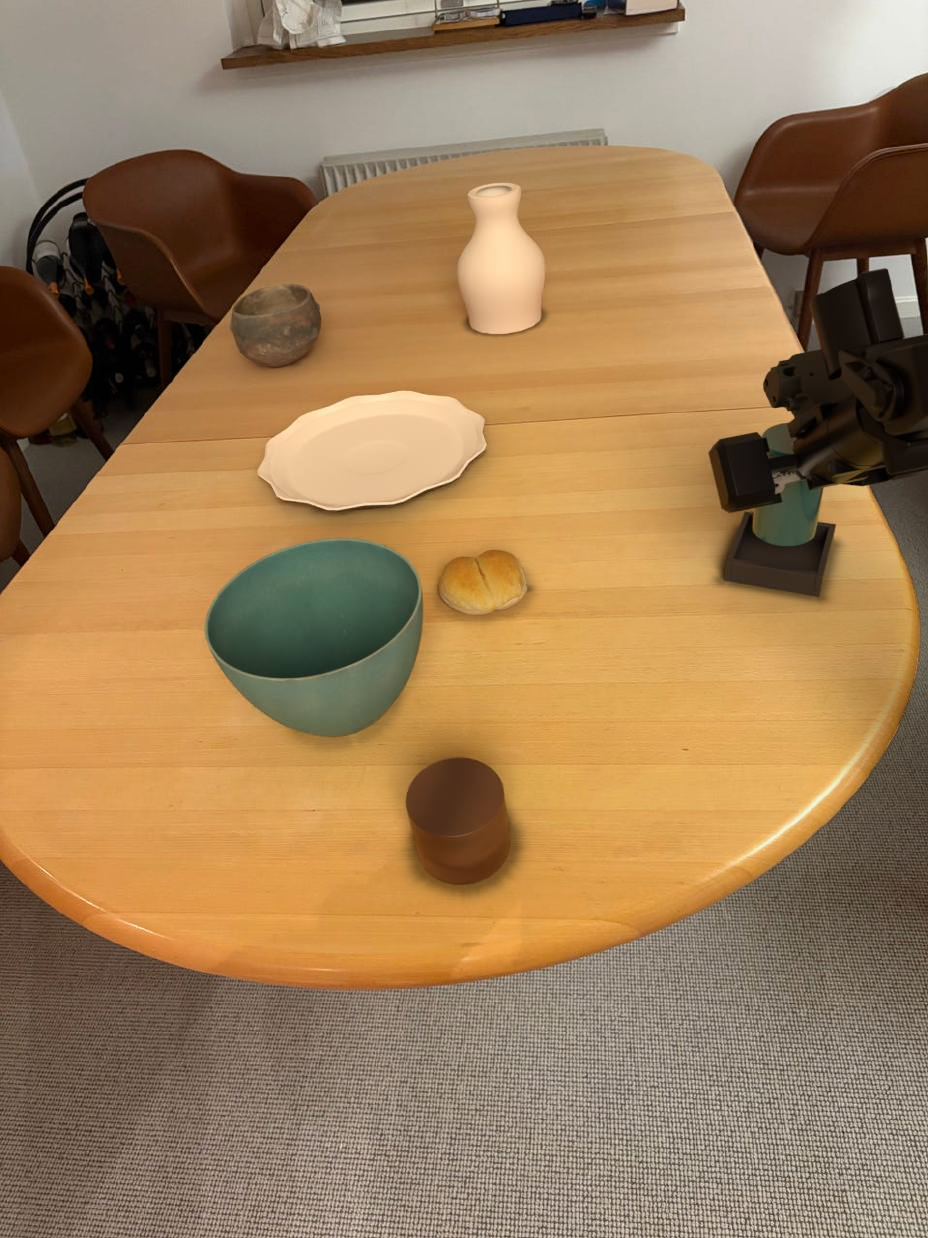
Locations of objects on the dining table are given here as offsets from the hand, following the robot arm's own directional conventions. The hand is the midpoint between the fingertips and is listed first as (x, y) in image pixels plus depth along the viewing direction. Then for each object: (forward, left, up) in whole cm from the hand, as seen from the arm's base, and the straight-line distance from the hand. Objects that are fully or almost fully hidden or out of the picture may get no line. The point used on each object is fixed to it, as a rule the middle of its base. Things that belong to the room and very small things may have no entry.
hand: (783, 481), depth 85 cm
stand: (+15, +43, -9) cm, 47 cm away
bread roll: (+26, +14, -9) cm, 31 cm away
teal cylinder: (-1, +1, -5) cm, 5 cm away
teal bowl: (+32, +33, -9) cm, 47 cm away
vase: (+52, -53, -9) cm, 75 cm away
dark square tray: (-1, +1, -9) cm, 9 cm away
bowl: (+82, -32, -9) cm, 89 cm away
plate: (+51, -7, -9) cm, 52 cm away
